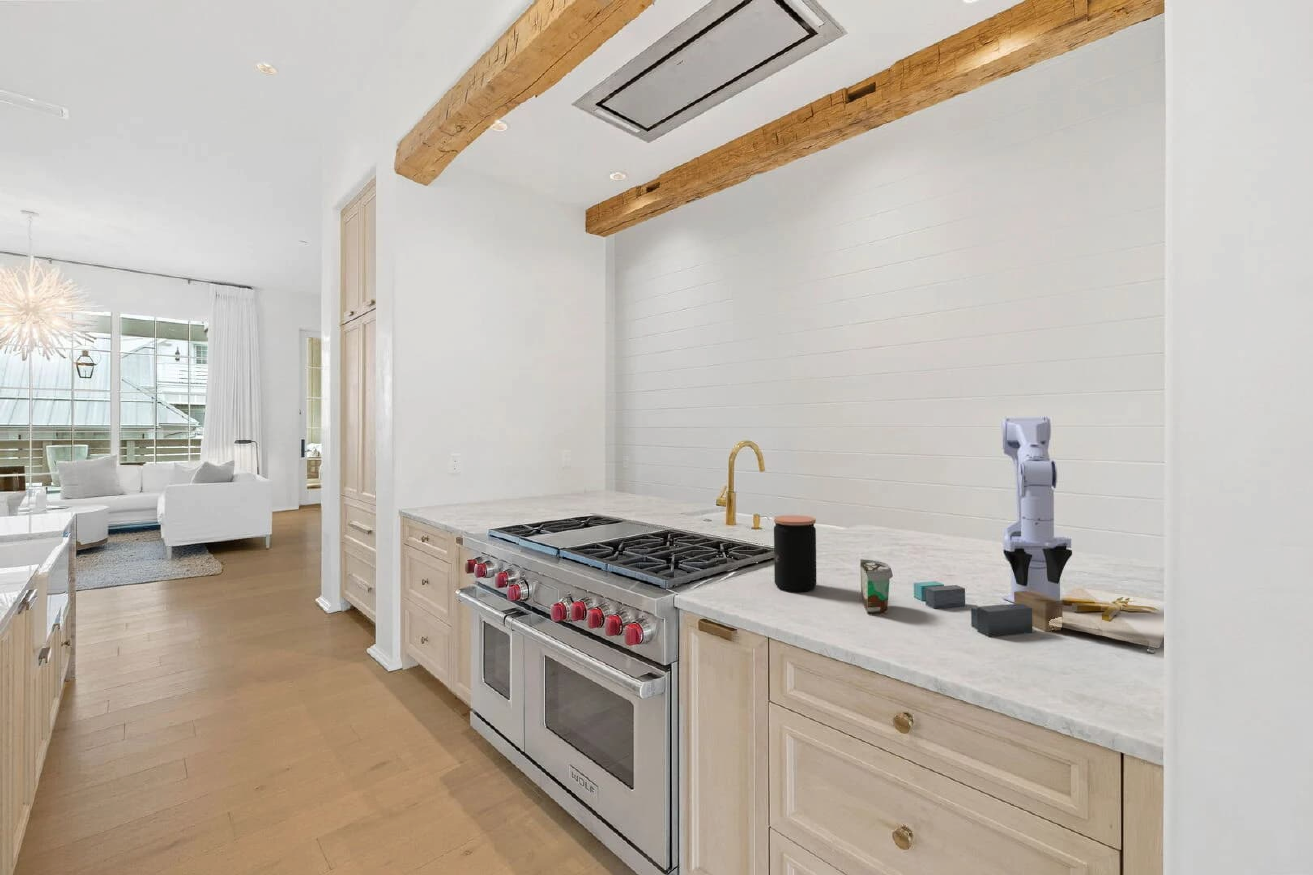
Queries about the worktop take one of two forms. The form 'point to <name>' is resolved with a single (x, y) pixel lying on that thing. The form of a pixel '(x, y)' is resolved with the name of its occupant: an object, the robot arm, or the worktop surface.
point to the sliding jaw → (939, 594)
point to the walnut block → (1040, 608)
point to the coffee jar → (795, 553)
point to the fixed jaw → (1002, 619)
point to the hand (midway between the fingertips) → (1037, 583)
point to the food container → (875, 586)
